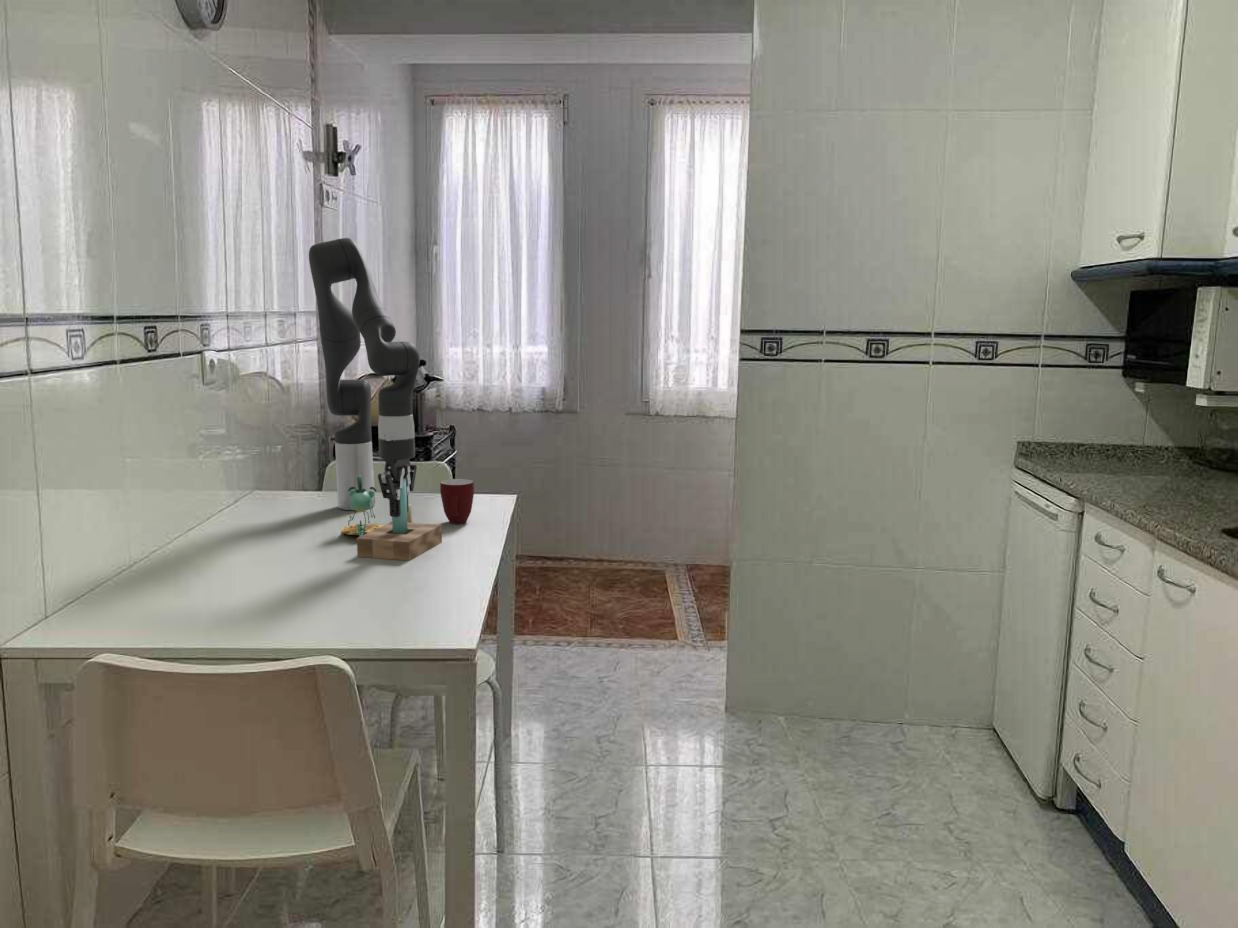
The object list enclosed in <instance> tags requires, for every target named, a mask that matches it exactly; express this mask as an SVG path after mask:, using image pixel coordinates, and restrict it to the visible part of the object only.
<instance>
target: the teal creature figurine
mask: <svg viewBox="0 0 1238 928" xmlns="http://www.w3.org/2000/svg"><path fill="white" fill-rule="evenodd" d="M357 482H358V490H357V489H355V487H351V488H349V490H348V492H349V491H350V490H351V489H355V490H351V491H350V496H351V503H350V504H349V506H348V507H347V508H349V509H350V505H351V506H352V507H353V509H354V510H353V512H354V513H353V516H351V515H349V520H347V523H348V526H344V527H343V528H342V530H340V532H341V533H343V534H346V535H349V536H351V535H352V536H353V535H354V536H358V537H360V536H363V535H365V534H367V533H369V532H371V531H373V530H375V529H378V528H380V527H382V526H383V525H382V524H378V523H372V522H371V520H370V518H373V519H376V515H375V513H374V511H373V507H372V497H373V496H374V492H373V491H369V493H368V492H366V488H364V489H363V488H362V479H361V476H358V477H357ZM370 489H373V490H374V491H375V493H377V489H376V487H375V488H374V487H370ZM368 510H369V511H370V516H369V512H367V511H368ZM357 512H359V513H363V516H364V524H362V519H361V520H359V523H356V524H354V525H353V524H352V525H351V524H350V521H354V518H355V515H356V513H357ZM365 513H366V514H367V520H366V514H365ZM367 521H368V523H367ZM370 523H371V524H370ZM355 540H356V541H357V538H355Z"/></svg>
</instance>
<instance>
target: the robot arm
mask: <svg viewBox="0 0 1238 928" xmlns="http://www.w3.org/2000/svg"><path fill="white" fill-rule="evenodd" d="M308 261H309V262H308V263H309V269H310V273H311V279H312V283H313V287H314V292H315V298H316V305H317V312H318V313H317V314H318V323H319V335H320V342H321V348H322V355H323V360H324V362H323V363H324V369H325V385H326V386H325V387H326V391H325V392H326V402H327V408H328V410H329V412H330V414H332V415H334V416H340V417H341V416H342V417H343V416H358V419H357V420H356V421H355V422H353V423H351V424H350V425H348V426H345V427H342V428H339V429H337V430H336V431H335V433H334V445H335V446H334V447H335V450H334V451H335V467H336V469H335V470H336V471H335V472H336V489H337V490H336V491H337V492H336V493H337V508H338V509H340V510H343V511H344V510H345V511H346V510H347V511H355V510H354V509H353V507H352V506H351V505H350V509H349V508H347V507H348V506H349V504H350V503H351V496H350V491H351V490H355V489H357V490H358V482H357V477H358V476H361V479H362V488H363V489H364V488H366V492H368V493H369V491H373V492H374V496H373V497H372V508H373V507H374V506H375V504H376V492H375V491H374V490H373V489H370V487H374V488H375V489H376V487H375V469H374V463H373V462H374V459H373V442H372V441H373V438H372V436H373V435H372V390H371V389H372V388H371V385H370V383H369V381H368V380H367V379H358V378H357V379H341V377H342V374H343V373H344V371H345V370H346V368H347V367H348V366H349V365H350V363H352V361H353V360H354V359H355V357H356V356H357V354H358V353H359V351H360V348H361V345H362V344H361V343H362V341H361V340H362V339H361V337H362V338H363V342H364V345H365V346H364V347H365V351H366V356H367V362H368V366H369V368H370V370H371V371H372V372H373V373H374V374H376V375H378V376H381V377H383V376H384V377H385V376H387V377H388V376H396V378H395V381H394V382H393V384H390V385H388V386H385V387H382V388H380V389H379V391H378V396H377V397H378V398H377V399H378V423H377V424H378V425H377V426H378V427H377V429H378V453H379V455H378V456H379V458H380V459H381V460H384V461H385V464H384V472H383V473H378V475H377V479H378V480H377V481H378V482H379V486H380V491H381V495H382V498H383V499H387V500H388V501H389V502H388V503H389V516H390V517H391V518H392V517H399V516H400V515H401V510H400V500H399V499H400V490H401V489H402V488H403V479H404V478H406V495H407V513H408V511H409V507H408V504H409V496H410V495H411V492H413V491H414V490H415V489H414V487H415V483H416V475H417V468H418V467H417V465H416V464H411V460H410V459H413V458H415V457H416V443H415V442H416V440H415V438H416V435H415V421H414V415H413V414H414V413H413V393H414V388H415V385H416V379H417V376H418V372H419V368H420V363H421V362H420V361H421V359H420V354H419V351H418V348H417V346H416V345H415V344H414V343H412V342H410V341H393V340H394V339H395V338H396V333H397V332H396V327H395V325H394V323H393V321H392V319H391V318H390V316H389V314H388V312H387V310H386V309H385V308H384V306H383V304H382V302H381V300H380V298H379V295H378V293H377V290H376V286H375V284H374V282H373V279H372V277H371V274H370V272H369V268H368V267H367V264H366V262H365V259H364V257H363V254H362V252H361V250H360V248H359V246H358V244H357V243H356V242H355V240H353V239H351V238H350V237H343V238H337V239H333V240H328V241H327V240H326V241H324V242H323V241H322V242H318V243H315V244H313V245H311V246H310V248H309V250H308ZM353 279H354V280H355V282H356V289H355V290H356V291H355V292H354V293H355V294H354V298H353V301H352V306H351V309H350V308H349V307H348V306H347V305H346V304H344V303H343V302H342V301H341V300H340V298H338V297H337V296H336V295H335V293H334V292H333V291H332V285H333V284H337V283H342V282H346V281H350V280H353ZM393 483H396V484H398V485H393ZM351 487H355V489H351V490H350V491H349V492H348V490H349V488H351ZM395 489H396V493H395Z"/></svg>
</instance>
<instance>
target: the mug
mask: <svg viewBox="0 0 1238 928" xmlns="http://www.w3.org/2000/svg"><path fill="white" fill-rule="evenodd" d="M439 484H440V487H439V488H440V491H439V492H440V499H441V501H442V502H441V503H442V508H443V512H444V514H445V516H446V518H447V520H448V522H449V523H450V524H452V525H453V524H454V525H455V524H456V525H459V524H464V523H467V521H468V519H469V517H470V515H471V512H472V508H473V503H474V502H473V501H474V494H475V482H474V480H472V479H467V478H452V479H445V480H444V479H443V480H442V481H440V482H439Z"/></svg>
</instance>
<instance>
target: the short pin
mask: <svg viewBox="0 0 1238 928" xmlns="http://www.w3.org/2000/svg"><path fill="white" fill-rule="evenodd" d="M408 507H409V511H408V513H407V522H408V523H413V518H412V517H413V516H412V515H413V513H412V504H411V503H408Z"/></svg>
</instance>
